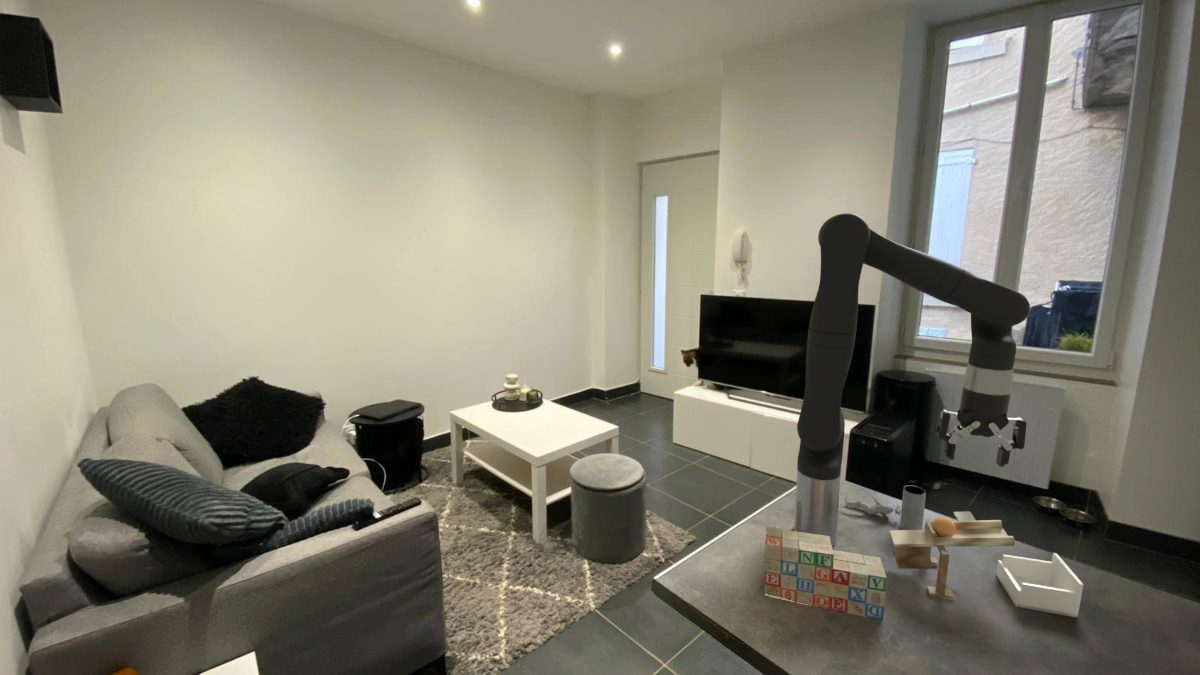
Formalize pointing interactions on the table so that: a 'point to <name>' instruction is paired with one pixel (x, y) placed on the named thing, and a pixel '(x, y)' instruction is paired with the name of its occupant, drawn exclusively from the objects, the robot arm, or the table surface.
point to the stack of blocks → (823, 574)
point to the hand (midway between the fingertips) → (974, 461)
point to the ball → (944, 527)
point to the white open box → (1041, 584)
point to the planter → (912, 508)
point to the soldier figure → (873, 507)
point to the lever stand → (940, 576)
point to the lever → (945, 540)
